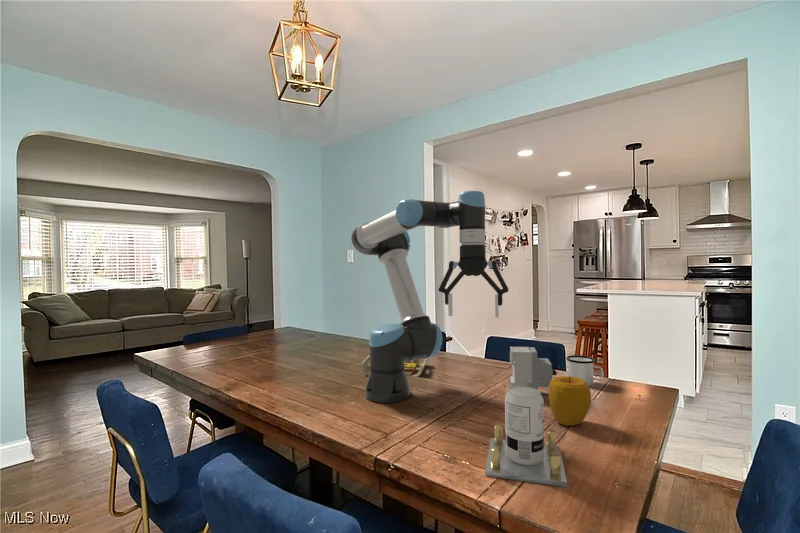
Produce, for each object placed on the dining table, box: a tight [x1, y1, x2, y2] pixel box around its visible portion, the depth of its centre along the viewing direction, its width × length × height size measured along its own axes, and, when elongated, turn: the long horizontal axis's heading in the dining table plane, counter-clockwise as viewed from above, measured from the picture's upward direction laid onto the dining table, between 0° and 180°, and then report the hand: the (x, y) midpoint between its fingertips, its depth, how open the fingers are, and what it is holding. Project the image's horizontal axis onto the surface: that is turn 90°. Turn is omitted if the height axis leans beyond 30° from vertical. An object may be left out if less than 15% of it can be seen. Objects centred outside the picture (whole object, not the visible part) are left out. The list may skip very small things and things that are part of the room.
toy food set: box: [360, 354, 429, 378], centre depth 165 cm, size 25×18×8 cm
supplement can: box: [504, 386, 545, 466], centre depth 89 cm, size 8×8×15 cm
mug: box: [565, 354, 604, 387], centre depth 143 cm, size 12×9×9 cm
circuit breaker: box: [509, 346, 557, 390], centre depth 133 cm, size 8×14×15 cm, turn 78°
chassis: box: [484, 424, 568, 488], centre depth 89 cm, size 16×16×5 cm
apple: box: [548, 375, 592, 427], centre depth 109 cm, size 11×11×13 cm
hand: (473, 316), depth 117 cm, fingers open, 13 cm apart
